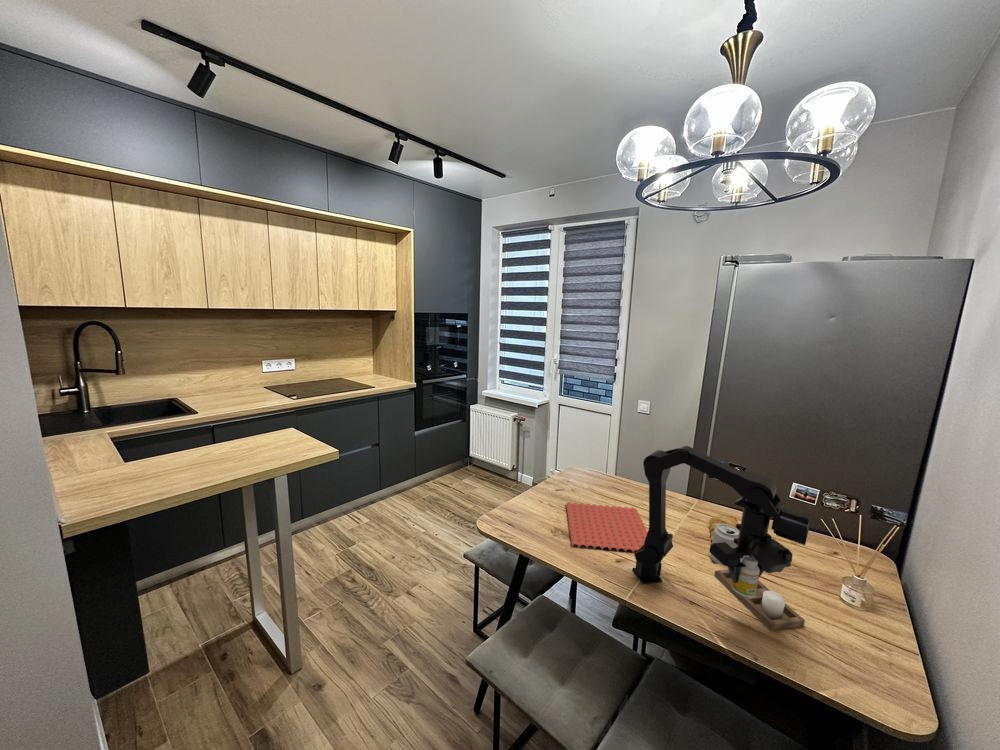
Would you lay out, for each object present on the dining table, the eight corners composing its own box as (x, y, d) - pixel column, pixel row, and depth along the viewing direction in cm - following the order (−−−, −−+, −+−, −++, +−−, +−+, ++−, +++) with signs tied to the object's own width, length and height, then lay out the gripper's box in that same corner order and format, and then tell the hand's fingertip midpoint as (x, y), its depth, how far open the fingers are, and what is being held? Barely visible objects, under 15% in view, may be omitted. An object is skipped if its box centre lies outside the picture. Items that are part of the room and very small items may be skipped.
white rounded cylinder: (771, 621, 100) (774, 605, 99) (756, 607, 105) (758, 591, 104) (786, 619, 101) (790, 603, 100) (771, 605, 105) (774, 589, 104)
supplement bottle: (732, 579, 103) (738, 547, 101) (756, 589, 99) (762, 556, 97) (729, 590, 99) (735, 556, 97) (753, 601, 95) (760, 566, 93)
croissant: (720, 557, 133) (735, 544, 129) (695, 534, 138) (709, 521, 134) (739, 533, 147) (753, 521, 143) (715, 512, 152) (728, 500, 148)
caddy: (769, 634, 97) (771, 624, 97) (713, 579, 117) (715, 570, 116) (802, 630, 99) (805, 620, 98) (742, 576, 118) (743, 567, 118)
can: (723, 571, 120) (728, 537, 118) (704, 556, 128) (709, 523, 125) (741, 567, 122) (747, 533, 120) (722, 553, 130) (728, 520, 127)
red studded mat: (635, 512, 154) (636, 507, 154) (656, 557, 127) (657, 551, 127) (565, 506, 157) (566, 501, 157) (571, 549, 130) (571, 543, 129)
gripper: (747, 549, 86) (736, 609, 89) (816, 543, 89) (804, 601, 92) (712, 521, 97) (703, 575, 100) (775, 517, 100) (765, 570, 103)
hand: (744, 581), depth 98 cm, fingers closed on supplement bottle, 5 cm apart
